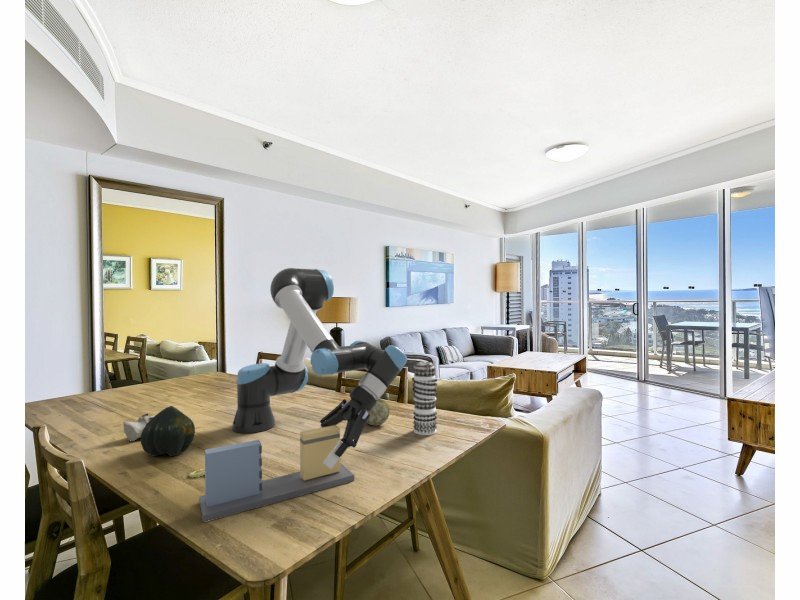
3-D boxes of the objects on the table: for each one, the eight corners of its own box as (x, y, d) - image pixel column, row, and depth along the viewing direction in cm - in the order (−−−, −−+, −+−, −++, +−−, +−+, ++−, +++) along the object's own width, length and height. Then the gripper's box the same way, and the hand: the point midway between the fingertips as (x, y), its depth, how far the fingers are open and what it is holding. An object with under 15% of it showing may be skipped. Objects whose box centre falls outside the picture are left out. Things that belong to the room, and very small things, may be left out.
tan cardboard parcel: (303, 480, 99) (303, 435, 100) (300, 476, 102) (299, 431, 102) (340, 471, 105) (339, 428, 105) (336, 467, 107) (335, 424, 107)
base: (203, 522, 84) (203, 515, 84) (199, 502, 93) (199, 496, 93) (354, 480, 103) (354, 474, 103) (339, 467, 112) (339, 461, 112)
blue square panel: (206, 507, 88) (206, 454, 88) (205, 501, 90) (204, 449, 90) (262, 492, 94) (261, 443, 94) (259, 487, 97) (258, 439, 97)
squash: (156, 449, 112) (184, 402, 122) (121, 445, 117) (150, 400, 127) (189, 467, 122) (213, 422, 131) (155, 462, 127) (180, 419, 137)
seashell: (391, 419, 156) (391, 394, 156) (388, 428, 145) (387, 402, 145) (365, 418, 157) (365, 394, 157) (360, 428, 146) (359, 401, 146)
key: (223, 483, 103) (223, 475, 103) (185, 479, 106) (185, 471, 106) (241, 472, 110) (241, 464, 110) (204, 468, 113) (204, 460, 113)
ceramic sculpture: (118, 414, 136) (165, 407, 148) (116, 439, 136) (163, 430, 148) (129, 420, 130) (177, 412, 141) (127, 446, 129) (175, 436, 141)
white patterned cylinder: (430, 437, 135) (429, 365, 135) (407, 432, 140) (407, 363, 140) (442, 429, 143) (441, 362, 143) (420, 425, 148) (419, 360, 148)
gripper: (398, 410, 102) (346, 482, 94) (357, 392, 123) (311, 449, 115) (380, 393, 99) (324, 465, 91) (341, 377, 120) (293, 435, 112)
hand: (317, 456), depth 103 cm, fingers open, 13 cm apart
